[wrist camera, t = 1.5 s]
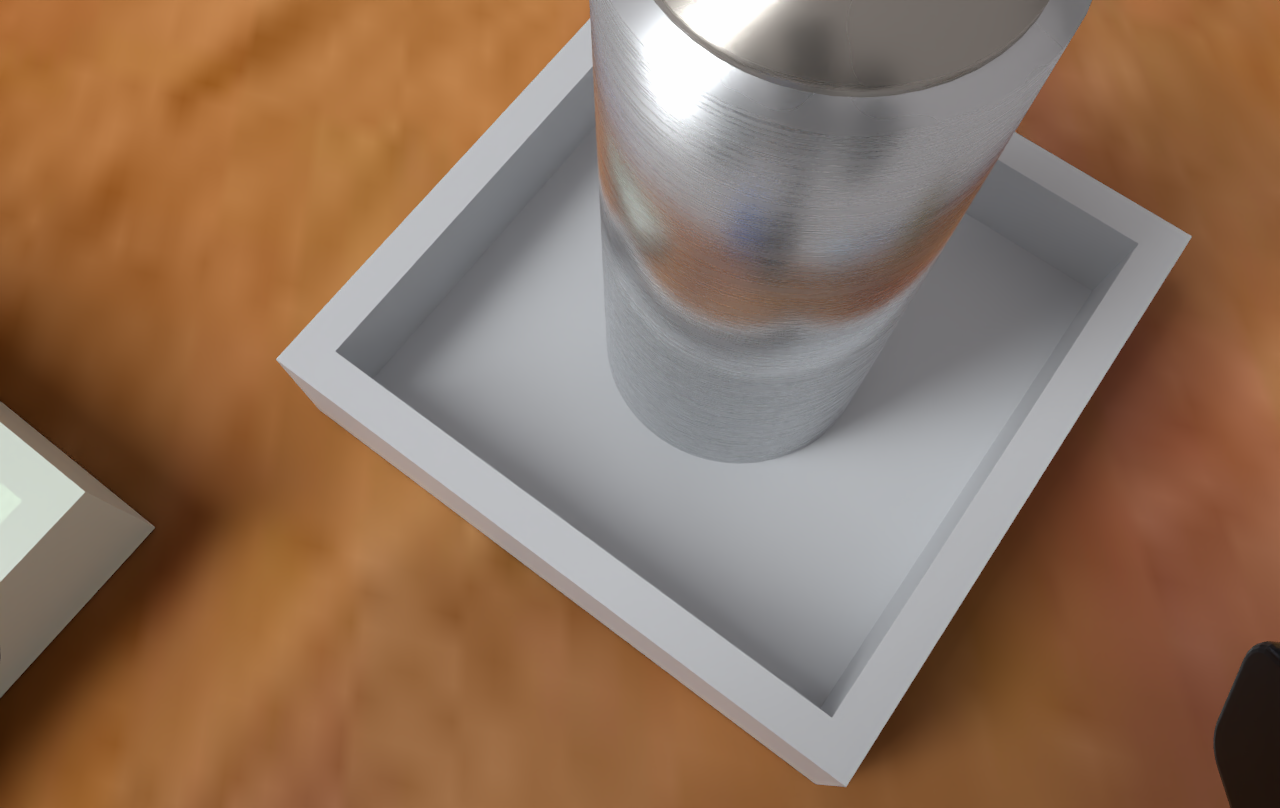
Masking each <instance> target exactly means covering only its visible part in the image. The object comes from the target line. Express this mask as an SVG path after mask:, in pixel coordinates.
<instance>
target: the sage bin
mask: <svg viewBox="0 0 1280 808" xmlns="http://www.w3.org/2000/svg"><path fill="white" fill-rule="evenodd" d="M154 529H155V527H154V526H153V525H152V524H151V523H149V522H148V521H147V520H146V519H145V518H143V517H142V516H141V515H140V514H138V513H137V512H136V511H135V510H133V509H132V508H131V507H130V506H129V505H127V504H126V503H125V502H124V501H122V500H121V499H120V498H119V497H118V496H116V495H115V494H114V493H113V492H111V491H110V490H109V489H108V488H106V487H105V486H104V485H103V484H102V483H100V482H99V481H98V480H97V479H95V478H94V477H93V476H92V475H91V474H89V473H88V472H87V471H86V470H84V469H83V468H82V467H81V466H79V465H78V464H77V463H76V462H75V461H73V460H72V459H71V458H70V457H68V456H67V455H66V454H65V453H64V452H62V451H61V450H60V449H59V448H57V447H56V446H55V445H54V444H52V443H51V442H50V441H49V440H48V439H46V438H45V437H44V436H43V435H41V434H40V433H39V432H38V431H37V430H35V429H34V428H33V427H32V426H30V425H29V424H28V423H27V422H25V421H24V420H23V419H22V418H21V417H19V416H18V415H17V414H16V413H14V412H13V411H12V410H11V409H10V408H8V407H7V406H6V405H5V404H3V403H2V402H1V401H0V698H1V697H2V696H3V694H4V693H5V692H6V691H7V690H8V689H9V688H10V687H11V686H12V685H13V683H14V682H15V681H16V680H17V679H18V678H19V677H20V676H21V675H22V674H23V672H24V671H25V670H26V669H27V668H28V667H29V666H30V665H31V664H32V663H33V662H34V660H35V659H36V658H37V657H38V656H39V655H40V654H41V653H42V652H43V651H44V649H45V648H46V647H47V646H48V645H49V644H50V643H51V642H52V641H53V640H54V638H55V637H56V636H57V635H58V634H59V633H60V632H61V631H62V630H63V629H64V627H65V626H66V625H67V624H68V623H69V622H70V621H71V620H72V619H73V618H74V616H75V615H76V614H77V613H78V612H79V611H80V610H81V609H82V608H83V607H84V605H85V604H86V603H87V602H88V601H89V600H90V599H91V598H92V597H93V596H94V594H95V593H96V592H97V591H98V590H99V589H100V588H101V587H102V586H103V585H104V584H105V582H106V581H107V580H108V579H109V578H110V577H111V576H112V575H113V574H114V573H115V571H116V570H117V569H118V568H119V567H120V566H121V565H122V564H123V563H124V562H125V560H126V559H127V558H128V557H129V556H130V555H131V554H132V553H133V552H134V551H135V549H136V548H137V547H138V546H139V545H140V544H141V543H142V542H143V541H144V540H145V538H146V537H147V536H148V535H149V534H150V533H151V532H152V531H153V530H154Z"/></svg>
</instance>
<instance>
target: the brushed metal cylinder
mask: <svg viewBox="0 0 1280 808" xmlns="http://www.w3.org/2000/svg"><path fill="white" fill-rule="evenodd" d="M1091 1H1092V0H590V20H591V40H592V60H593V80H594V100H595V121H596V141H597V161H598V181H599V201H600V221H601V242H602V262H603V282H604V302H605V322H606V342H607V354H608V360H609V365H610V369H611V373H612V376H613V378H614V381H615V384H616V386H617V389H618V390H619V392H620V394H621V396H622V398H623V400H624V402H625V403H626V404H627V406H628V407H629V408H630V410H631V411H632V413H633V414H634V415H635V416H636V417H637V418H638V419H639V421H640V422H641V423H642V424H643V425H644V426H645V427H646V428H647V429H649V430H650V431H651V432H652V433H654V434H655V435H656V436H657V437H659V438H660V439H662V440H663V441H665V442H666V443H668V444H670V445H671V446H673V447H675V448H677V449H679V450H681V451H684V452H686V453H688V454H690V455H693V456H697V457H700V458H703V459H707V460H712V461H718V462H723V463H741V464H743V463H755V462H763V461H767V460H772V459H777V458H780V457H782V456H785V455H788V454H791V453H793V452H795V451H797V450H799V449H801V448H803V447H805V446H807V445H809V444H810V443H812V442H813V441H815V440H816V439H818V438H819V437H820V436H822V435H823V434H824V433H825V432H826V431H827V430H828V429H829V428H830V427H832V426H833V425H834V424H835V422H836V421H837V420H838V419H839V417H840V416H841V415H842V414H843V413H844V411H845V409H846V408H847V406H848V405H849V403H850V401H851V400H852V398H853V396H854V395H855V393H856V391H857V390H858V388H859V387H860V385H861V383H862V382H863V380H864V378H865V377H866V375H867V373H868V372H869V370H870V368H871V367H872V365H873V364H874V362H875V360H876V359H877V357H878V355H879V354H880V352H881V350H882V349H883V347H884V345H885V344H886V342H887V341H888V339H889V337H890V336H891V334H892V332H893V331H894V329H895V327H896V326H897V324H898V323H899V321H900V319H901V318H902V316H903V314H904V313H905V311H906V309H907V308H908V306H909V304H910V303H911V301H912V300H913V298H914V296H915V295H916V293H917V291H918V290H919V288H920V286H921V285H922V283H923V281H924V280H925V278H926V277H927V275H928V273H929V272H930V270H931V268H932V267H933V265H934V263H935V262H936V260H937V258H938V257H939V255H940V254H941V252H942V250H943V249H944V247H945V245H946V244H947V242H948V240H949V239H950V237H951V236H952V234H953V232H954V231H955V229H956V227H957V226H958V224H959V222H960V221H961V219H962V217H963V216H964V214H965V213H966V211H967V209H968V208H969V206H970V204H971V203H972V201H973V199H974V198H975V196H976V194H977V193H978V191H979V190H980V188H981V186H982V185H983V183H984V181H985V180H986V178H987V176H988V175H989V173H990V172H991V170H992V168H993V167H994V165H995V163H996V162H997V160H998V158H999V157H1000V155H1001V153H1002V152H1003V150H1004V149H1005V147H1006V145H1007V144H1008V142H1009V140H1010V139H1011V137H1012V135H1013V134H1014V132H1015V130H1016V129H1017V127H1018V126H1019V124H1020V122H1021V121H1022V119H1023V117H1024V116H1025V114H1026V112H1027V111H1028V109H1029V108H1030V106H1031V104H1032V103H1033V101H1034V99H1035V98H1036V96H1037V94H1038V93H1039V91H1040V89H1041V88H1042V86H1043V85H1044V83H1045V81H1046V80H1047V78H1048V76H1049V75H1050V73H1051V71H1052V70H1053V68H1054V66H1055V65H1056V63H1057V62H1058V60H1059V58H1060V57H1061V55H1062V53H1063V52H1064V50H1065V48H1066V47H1067V45H1068V44H1069V42H1070V40H1071V39H1072V37H1073V35H1074V34H1075V32H1076V30H1077V29H1078V27H1079V25H1080V24H1081V22H1082V20H1083V19H1084V17H1085V16H1086V14H1087V11H1088V9H1089V6H1090V4H1091Z"/></svg>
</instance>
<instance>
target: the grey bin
mask: <svg viewBox="0 0 1280 808" xmlns="http://www.w3.org/2000/svg"><path fill="white" fill-rule="evenodd" d="M1191 237H1192V236H1191V235H1189V234H1187V233H1186V232H1184V231H1182V230H1180V229H1179V228H1177V227H1175V226H1174V225H1172V224H1170V223H1169V222H1167V221H1165V220H1163V219H1162V218H1160V217H1158V216H1157V215H1155V214H1153V213H1152V212H1150V211H1148V210H1147V209H1145V208H1143V207H1141V206H1140V205H1138V204H1136V203H1135V202H1133V201H1131V200H1130V199H1128V198H1126V197H1124V196H1123V195H1121V194H1119V193H1118V192H1116V191H1114V190H1113V189H1111V188H1109V187H1107V186H1106V185H1104V184H1102V183H1101V182H1099V181H1097V180H1096V179H1094V178H1092V177H1090V176H1089V175H1087V174H1085V173H1084V172H1082V171H1080V170H1079V169H1077V168H1075V167H1074V166H1072V165H1070V164H1068V163H1067V162H1065V161H1063V160H1062V159H1060V158H1058V157H1057V156H1055V155H1053V154H1051V153H1050V152H1048V151H1046V150H1045V149H1043V148H1041V147H1040V146H1038V145H1036V144H1034V143H1033V142H1031V141H1029V140H1028V139H1026V138H1024V137H1023V136H1021V135H1019V134H1017V133H1016V132H1014V134H1013V135H1012V137H1011V139H1010V140H1009V142H1008V144H1007V145H1006V147H1005V149H1004V150H1003V152H1002V153H1001V155H1000V157H999V158H998V160H997V162H996V163H995V165H994V167H993V168H992V170H991V172H990V173H989V175H988V176H987V178H986V180H985V181H984V183H983V185H982V186H981V188H980V190H979V191H978V193H977V194H976V196H975V198H974V199H973V201H972V203H971V204H970V206H969V208H968V209H967V211H966V213H965V214H964V216H963V217H962V219H961V221H960V222H959V224H958V226H957V227H956V229H955V231H954V232H953V234H952V236H951V237H950V239H949V240H948V242H947V244H946V245H945V247H944V249H943V250H942V252H941V254H940V255H939V257H938V258H937V260H936V262H935V263H934V265H933V267H932V268H931V270H930V272H929V273H928V275H927V277H926V278H925V280H924V281H923V283H922V285H921V286H920V288H919V290H918V291H917V293H916V295H915V296H914V298H913V300H912V301H911V303H910V304H909V306H908V308H907V309H906V311H905V313H904V314H903V316H902V318H901V319H900V321H899V323H898V324H897V326H896V327H895V329H894V331H893V332H892V334H891V336H890V337H889V339H888V341H887V342H886V344H885V345H884V347H883V349H882V350H881V352H880V354H879V355H878V357H877V359H876V360H875V362H874V364H873V365H872V367H871V368H870V370H869V372H868V373H867V375H866V377H865V378H864V380H863V382H862V383H861V385H860V387H859V388H858V390H857V391H856V393H855V395H854V396H853V398H852V400H851V401H850V403H849V405H848V406H847V408H846V409H845V411H844V413H843V414H842V415H841V416H840V417H839V419H838V420H837V421H836V422H835V424H834V425H833V426H832V427H830V428H829V429H828V430H827V431H826V432H825V433H824V434H823V435H822V436H820V437H819V438H818V439H816V440H815V441H813V442H812V443H810V444H809V445H807V446H805V447H803V448H801V449H799V450H797V451H795V452H793V453H791V454H788V455H785V456H782V457H780V458H777V459H772V460H767V461H763V462H755V463H743V464H741V463H723V462H718V461H712V460H707V459H703V458H700V457H697V456H693V455H690V454H688V453H686V452H684V451H681V450H679V449H677V448H675V447H673V446H671V445H670V444H668V443H666V442H665V441H663V440H662V439H660V438H659V437H657V436H656V435H655V434H654V433H652V432H651V431H650V430H649V429H647V428H646V427H645V426H644V425H643V424H642V423H641V422H640V421H639V419H638V418H637V417H636V416H635V415H634V414H633V413H632V411H631V410H630V408H629V407H628V406H627V404H626V403H625V402H624V400H623V398H622V396H621V394H620V392H619V390H618V389H617V386H616V384H615V381H614V378H613V376H612V373H611V369H610V365H609V360H608V354H607V342H606V322H605V302H604V282H603V262H602V242H601V221H600V201H599V181H598V161H597V141H596V121H595V100H594V80H593V60H592V40H591V20H590V19H589V20H588V21H587V22H586V23H585V24H584V26H583V27H582V28H581V29H580V30H579V31H578V32H577V33H576V34H575V35H574V36H573V37H572V39H571V40H570V41H569V42H568V43H567V44H566V45H565V46H564V47H563V48H562V49H561V51H560V52H559V53H558V54H557V55H556V56H555V57H554V58H553V59H552V60H551V61H550V62H549V64H548V65H547V66H546V67H545V68H544V69H543V70H542V71H541V72H540V73H539V74H538V75H537V77H536V78H535V79H534V80H533V81H532V82H531V83H530V84H529V85H528V86H527V87H526V88H525V90H524V91H523V92H522V93H521V94H520V95H519V96H518V97H517V98H516V99H515V100H514V101H513V103H512V104H511V105H510V106H509V107H508V108H507V109H506V110H505V111H504V112H503V113H502V115H501V116H500V117H499V118H498V119H497V120H496V121H495V122H494V123H493V124H492V125H491V126H490V128H489V129H488V130H487V131H486V132H485V133H484V134H483V135H482V136H481V137H480V138H479V139H478V141H477V142H476V143H475V144H474V145H473V146H472V147H471V148H470V149H469V150H468V151H467V152H466V154H465V155H464V156H463V157H462V158H461V159H460V160H459V161H458V162H457V163H456V164H455V166H454V167H453V168H452V169H451V170H450V171H449V172H448V173H447V174H446V175H445V176H444V177H443V179H442V180H441V181H440V182H439V183H438V184H437V185H436V186H435V187H434V188H433V189H432V190H431V192H430V193H429V194H428V195H427V196H426V197H425V198H424V199H423V200H422V201H421V202H420V203H419V205H418V206H417V207H416V208H415V209H414V210H413V211H412V212H411V213H410V214H409V215H408V216H407V218H406V219H405V220H404V221H403V222H402V223H401V224H400V225H399V226H398V227H397V228H396V230H395V231H394V232H393V233H392V234H391V235H390V236H389V237H388V238H387V239H386V240H385V241H384V243H383V244H382V245H381V246H380V247H379V248H378V249H377V250H376V251H375V252H374V253H373V254H372V256H371V257H370V258H369V259H368V260H367V261H366V262H365V263H364V264H363V265H362V266H361V267H360V269H359V270H358V271H357V272H356V273H355V274H354V275H353V276H352V277H351V278H350V279H349V281H348V282H347V283H346V284H345V285H344V286H343V287H342V288H341V289H340V290H339V291H338V292H337V294H336V295H335V296H334V297H333V298H332V299H331V300H330V301H329V302H328V303H327V304H326V305H325V307H324V308H323V309H322V310H321V311H320V312H319V313H318V314H317V315H316V316H315V317H314V318H313V320H312V321H311V322H310V323H309V324H308V325H307V326H306V327H305V328H304V329H303V330H302V331H301V333H300V334H299V335H298V336H297V337H296V338H295V339H294V340H293V341H292V342H291V343H290V345H289V346H288V347H287V348H286V349H285V350H284V351H283V352H282V353H281V354H280V355H279V356H278V358H277V359H276V360H277V361H278V362H279V364H280V365H281V366H282V367H283V368H284V369H285V370H286V372H287V373H288V374H289V375H290V376H291V377H292V379H293V380H294V381H295V382H296V383H297V384H298V386H299V387H300V388H301V389H302V390H303V391H304V392H305V394H306V395H307V396H308V397H309V398H310V399H311V401H312V402H313V403H314V404H315V405H316V406H317V408H318V409H319V410H320V411H322V412H323V413H324V414H326V415H327V416H328V417H330V418H331V419H332V420H334V421H335V422H336V423H338V424H339V425H340V426H342V427H343V428H344V429H345V430H347V431H348V432H349V433H351V434H352V435H353V436H355V437H356V438H357V439H359V440H360V441H361V442H363V443H364V444H365V445H367V446H368V447H369V448H371V449H372V450H373V451H375V452H376V453H377V454H379V455H380V456H381V457H383V458H384V459H385V460H387V461H388V462H389V463H391V464H392V465H393V466H395V467H396V468H397V469H399V470H400V471H401V472H402V473H404V474H405V475H406V476H408V477H409V478H410V479H412V480H413V481H414V482H416V483H417V484H418V485H420V486H421V487H422V488H424V489H425V490H426V491H428V492H429V493H430V494H432V495H433V496H434V497H436V498H437V499H438V500H440V501H441V502H442V503H444V504H445V505H446V506H448V507H449V508H450V509H452V510H453V511H454V512H456V513H457V514H458V515H460V516H461V517H462V518H463V519H465V520H466V521H467V522H469V523H470V524H471V525H473V526H474V527H475V528H477V529H478V530H479V531H481V532H482V533H483V534H485V535H486V536H487V537H489V538H490V539H491V540H493V541H494V542H495V543H497V544H498V545H499V546H501V547H502V548H503V549H505V550H506V551H507V552H509V553H510V554H511V555H513V556H514V557H515V558H517V559H518V560H519V561H520V562H522V563H523V564H524V565H526V566H527V567H528V568H530V569H531V570H532V571H534V572H535V573H536V574H538V575H539V576H540V577H542V578H543V579H544V580H546V581H547V582H548V583H550V584H551V585H552V586H554V587H555V588H556V589H558V590H559V591H560V592H562V593H563V594H564V595H566V596H567V597H568V598H570V599H571V600H572V601H574V602H575V603H576V604H578V605H579V606H580V607H581V608H583V609H584V610H585V611H587V612H588V613H589V614H591V615H592V616H593V617H595V618H596V619H597V620H599V621H600V622H601V623H603V624H604V625H605V626H607V627H608V628H609V629H611V630H612V631H613V632H615V633H616V634H617V635H619V636H620V637H621V638H623V639H624V640H625V641H627V642H628V643H629V644H631V645H632V646H633V647H635V648H636V649H637V650H638V651H640V652H641V653H642V654H644V655H645V656H646V657H648V658H649V659H650V660H652V661H653V662H654V663H656V664H657V665H658V666H660V667H661V668H662V669H664V670H665V671H666V672H668V673H669V674H670V675H672V676H673V677H674V678H676V679H677V680H678V681H680V682H681V683H682V684H684V685H685V686H686V687H688V688H689V689H690V690H692V691H693V692H694V693H695V694H697V695H698V696H699V697H701V698H702V699H703V700H705V701H706V702H707V703H709V704H710V705H711V706H713V707H714V708H715V709H717V710H718V711H719V712H721V713H722V714H723V715H725V716H726V717H727V718H729V719H730V720H731V721H733V722H734V723H735V724H737V725H738V726H739V727H741V728H742V729H743V730H745V731H746V732H747V733H749V734H750V735H751V736H753V737H754V738H755V739H756V740H758V741H759V742H760V743H762V744H763V745H764V746H766V747H767V748H768V749H770V750H771V751H772V752H774V753H775V754H776V755H778V756H779V757H780V758H782V759H783V760H784V761H786V762H787V763H788V764H790V765H791V766H792V767H794V768H795V769H796V770H798V771H799V772H800V773H802V774H803V775H804V776H806V777H807V778H808V779H810V780H811V781H812V782H813V783H815V784H819V785H830V786H841V787H846V786H847V785H848V783H849V782H850V780H851V778H852V777H853V775H854V774H855V772H856V770H857V769H858V767H859V766H860V764H861V762H862V761H863V759H864V758H865V756H866V754H867V753H868V751H869V750H870V748H871V747H872V745H873V743H874V742H875V740H876V739H877V737H878V735H879V734H880V732H881V731H882V729H883V727H884V726H885V724H886V723H887V721H888V719H889V718H890V716H891V715H892V713H893V712H894V710H895V708H896V707H897V705H898V704H899V702H900V700H901V699H902V697H903V696H904V694H905V692H906V691H907V689H908V688H909V686H910V684H911V683H912V681H913V680H914V678H915V677H916V675H917V673H918V672H919V670H920V669H921V667H922V665H923V664H924V662H925V661H926V659H927V657H928V656H929V654H930V653H931V651H932V649H933V648H934V646H935V645H936V643H937V642H938V640H939V638H940V637H941V635H942V634H943V632H944V630H945V629H946V627H947V626H948V624H949V622H950V621H951V619H952V618H953V616H954V614H955V613H956V611H957V610H958V608H959V606H960V605H961V603H962V602H963V600H964V599H965V597H966V595H967V594H968V592H969V591H970V589H971V587H972V586H973V584H974V583H975V581H976V579H977V578H978V576H979V575H980V573H981V571H982V570H983V568H984V567H985V565H986V564H987V562H988V560H989V559H990V557H991V556H992V554H993V552H994V551H995V549H996V548H997V546H998V544H999V543H1000V541H1001V540H1002V538H1003V536H1004V535H1005V533H1006V532H1007V530H1008V529H1009V527H1010V525H1011V524H1012V522H1013V521H1014V519H1015V517H1016V516H1017V514H1018V513H1019V511H1020V509H1021V508H1022V506H1023V505H1024V503H1025V501H1026V500H1027V498H1028V497H1029V495H1030V493H1031V492H1032V490H1033V489H1034V487H1035V486H1036V484H1037V482H1038V481H1039V479H1040V478H1041V476H1042V474H1043V473H1044V471H1045V470H1046V468H1047V466H1048V465H1049V463H1050V462H1051V460H1052V458H1053V457H1054V455H1055V454H1056V452H1057V451H1058V449H1059V447H1060V446H1061V444H1062V443H1063V441H1064V439H1065V438H1066V436H1067V435H1068V433H1069V431H1070V430H1071V428H1072V427H1073V425H1074V423H1075V422H1076V420H1077V419H1078V417H1079V416H1080V414H1081V412H1082V411H1083V409H1084V408H1085V406H1086V404H1087V403H1088V401H1089V400H1090V398H1091V396H1092V395H1093V393H1094V392H1095V390H1096V388H1097V387H1098V385H1099V384H1100V382H1101V381H1102V379H1103V377H1104V376H1105V374H1106V373H1107V371H1108V369H1109V368H1110V366H1111V365H1112V363H1113V361H1114V360H1115V358H1116V357H1117V355H1118V353H1119V352H1120V350H1121V349H1122V347H1123V345H1124V344H1125V342H1126V341H1127V339H1128V338H1129V336H1130V334H1131V333H1132V331H1133V330H1134V328H1135V326H1136V325H1137V323H1138V322H1139V320H1140V318H1141V317H1142V315H1143V314H1144V312H1145V310H1146V309H1147V307H1148V306H1149V304H1150V303H1151V301H1152V299H1153V298H1154V296H1155V295H1156V293H1157V291H1158V290H1159V288H1160V287H1161V285H1162V283H1163V282H1164V280H1165V279H1166V277H1167V275H1168V274H1169V272H1170V271H1171V269H1172V268H1173V266H1174V264H1175V263H1176V261H1177V260H1178V258H1179V256H1180V255H1181V253H1182V252H1183V250H1184V248H1185V247H1186V245H1187V244H1188V242H1189V240H1190V239H1191Z"/></svg>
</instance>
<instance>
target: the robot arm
mask: <svg viewBox="0 0 1280 808" xmlns="http://www.w3.org/2000/svg"><path fill="white" fill-rule="evenodd" d="M1214 754H1215V760H1216V764H1217V767H1218V770H1219V773H1220V777H1221V780H1222V783H1223V786H1224V789H1225V792H1226V795H1227V798H1228V801H1229V804H1230V807H1231V808H1280V642H1271V641H1267V642H1262V643H1259V644H1256V645H1255V646H1253V647H1252V648H1251V649H1250V650H1249V651H1248V652H1247V654H1246V656H1245V658H1244V660H1243V662H1242V664H1241V667H1240V669H1239V672H1238V674H1237V676H1236V679H1235V681H1234V683H1233V686H1232V688H1231V690H1230V693H1229V695H1228V697H1227V700H1226V702H1225V704H1224V707H1223V709H1222V711H1221V714H1220V716H1219V718H1218V721H1217V723H1216V727H1215V732H1214Z"/></svg>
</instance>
